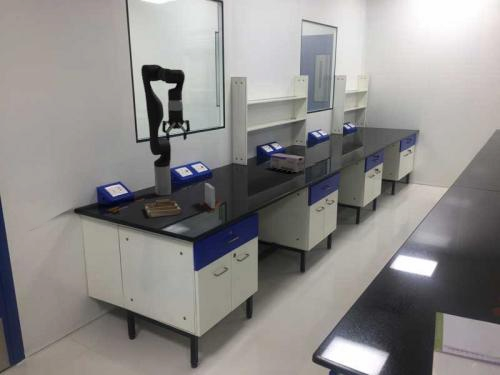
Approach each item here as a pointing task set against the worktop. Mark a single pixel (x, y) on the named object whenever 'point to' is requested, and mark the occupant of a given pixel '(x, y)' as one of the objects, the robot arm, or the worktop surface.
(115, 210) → the decorative fence
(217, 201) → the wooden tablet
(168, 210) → the rack
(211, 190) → the pvc sheet
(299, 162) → the surgical sutures box
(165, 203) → the offcut upper
